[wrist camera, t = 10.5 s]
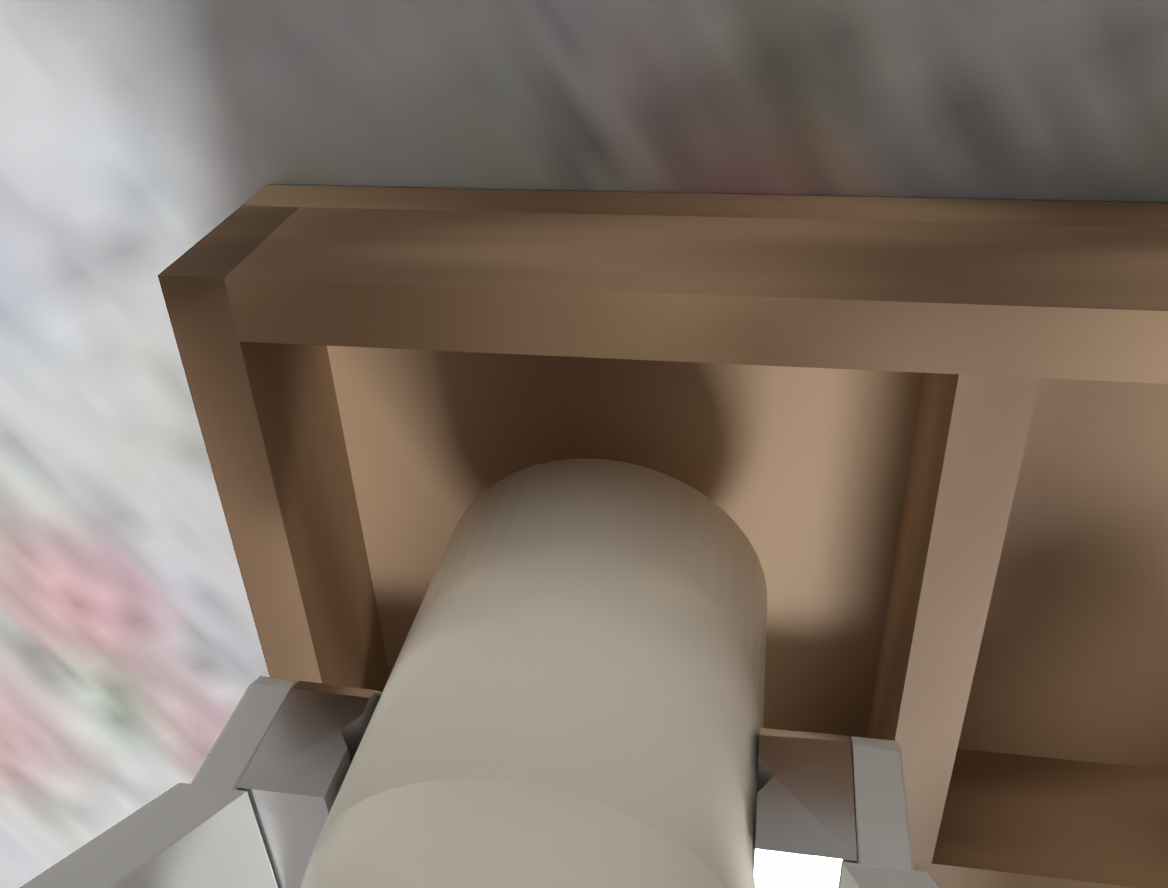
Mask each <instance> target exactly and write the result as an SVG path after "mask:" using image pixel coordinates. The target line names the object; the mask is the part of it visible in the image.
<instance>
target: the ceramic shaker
mask: <svg viewBox="0 0 1168 888" xmlns="http://www.w3.org/2000/svg"><path fill="white" fill-rule="evenodd" d="M766 630H767V587H766V582H765V576H764V572H763V569H762V566H761V564H760V561H759V558H758V556H757V554H756V552H755V550H754V548H753V547H752V545H751V543H750V541H749V539H748V538H747V537H746V535H745V534H744V533H743V531H742V530H741V529H740V527H739V526H738V525H737V523H736V522H735V521H734V520H733V519H732V518H731V517H730V516H729V515H728V514H727V513H726V512H725V511H724V510H723V509H722V508H720V507H719V506H718V505H717V504H715V503H714V502H713V501H712V500H710V499H709V498H708V497H707V496H705V495H704V494H702V493H700V492H699V491H697V490H696V489H694V488H692V487H691V486H689V485H687V484H686V483H684V482H681V481H679V480H677V479H675V478H673V477H671V476H669V475H667V474H664V473H661V472H658V471H655V470H652V469H649V468H647V467H644V466H639V465H635V464H630V463H626V462H622V461H614V460H605V459H567V460H558V461H551V462H547V463H542V464H538V465H534V466H531V467H528V468H525V469H523V470H520V471H517V472H514V473H512V474H510V475H509V476H507V477H505V478H503V479H501V480H499V481H497V482H496V483H494V484H493V485H492V486H490V487H489V488H488V489H486V490H485V491H483V492H482V493H481V494H480V495H479V496H478V497H477V498H476V499H475V500H474V501H473V502H472V503H471V504H470V505H469V506H468V508H467V509H466V510H465V512H464V513H463V515H462V516H461V517H460V519H459V521H458V523H457V525H456V527H455V529H454V531H453V533H452V536H451V538H450V540H449V542H448V545H447V547H446V549H445V551H444V554H443V556H442V558H441V561H440V563H439V565H438V567H437V570H436V572H435V574H434V576H433V579H432V581H431V583H430V585H429V588H428V590H427V592H426V595H425V597H424V599H423V601H422V604H421V606H420V608H419V610H418V613H417V615H416V617H415V620H414V622H413V624H412V626H411V629H410V631H409V633H408V635H407V638H406V640H405V642H404V645H403V647H402V649H401V651H400V654H399V656H398V658H397V660H396V663H395V665H394V667H393V669H392V672H391V674H390V676H389V679H388V681H387V683H386V685H385V688H384V690H383V692H382V694H381V697H380V699H379V701H378V704H377V706H376V708H375V710H374V713H373V715H372V717H371V719H370V722H369V724H368V726H367V729H366V731H365V733H364V735H363V738H362V740H361V742H360V744H359V747H358V749H357V751H356V753H355V756H354V758H353V760H352V763H351V765H350V767H349V769H348V772H347V774H346V776H345V778H344V781H343V783H342V785H341V788H340V790H339V792H338V794H337V797H336V799H335V801H334V803H333V806H332V808H331V810H330V813H329V815H328V817H327V819H326V822H325V824H324V826H323V828H322V831H321V833H320V835H319V837H318V840H317V842H316V844H315V847H314V849H313V851H312V854H311V856H310V859H309V862H308V865H307V868H306V870H305V873H304V876H303V879H302V883H301V887H300V888H756V884H755V880H754V875H753V869H754V839H755V815H756V803H757V793H758V786H757V764H758V744H759V730H760V728H763V711H764V684H765V657H766Z"/></svg>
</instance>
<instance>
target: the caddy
mask: <svg viewBox="0 0 1168 888" xmlns="http://www.w3.org/2000/svg"><path fill="white" fill-rule="evenodd" d="M158 278H159V281H160V285H161V288H162V292H163V296H164V299H165V303H166V306H167V310H168V313H169V317H170V321H171V324H172V328H173V331H174V335H175V339H176V342H177V346H178V349H179V353H180V356H181V360H182V364H183V367H184V371H185V374H186V378H187V382H188V385H189V389H190V392H191V396H192V399H193V403H194V407H195V410H196V414H197V417H198V421H199V425H200V428H201V432H202V435H203V439H204V442H205V446H206V450H207V453H208V457H209V460H210V464H211V468H212V471H213V475H214V478H215V482H216V485H217V489H218V493H219V496H220V500H221V503H222V507H223V511H224V514H225V518H226V521H227V525H228V528H229V532H230V536H231V539H232V543H233V546H234V550H235V554H236V557H237V561H238V564H239V568H240V571H241V575H242V579H243V582H244V586H245V589H246V593H247V597H248V600H249V604H250V607H251V611H252V614H253V618H254V622H255V625H256V629H257V632H258V636H259V640H260V643H261V647H262V650H263V654H264V657H265V661H266V665H267V668H268V672H269V675H270V678H278V679H287V680H295V681H307V682H315V683H323V684H330V685H338V686H346V687H354V688H362V689H370V690H377V691H380V692H383V690H384V688H385V685H386V683H387V681H388V679H389V676H390V674H391V672H392V669H393V667H394V665H395V663H396V660H397V658H398V656H399V654H400V651H401V649H402V647H403V645H404V642H405V640H406V638H407V635H408V633H409V631H410V629H411V626H412V624H413V622H414V620H415V617H416V615H417V613H418V610H419V608H420V606H421V604H422V601H423V599H424V597H425V595H426V592H427V590H428V588H429V585H430V583H431V581H432V579H433V576H434V574H435V572H436V570H437V567H438V565H439V563H440V561H441V558H442V556H443V554H444V551H445V549H446V547H447V545H448V542H449V540H450V538H451V536H452V533H453V531H454V529H455V527H456V525H457V523H458V521H459V519H460V517H461V516H462V515H463V513H464V512H465V510H466V509H467V508H468V506H469V505H470V504H471V503H472V502H473V501H474V500H475V499H476V498H477V497H478V496H479V495H480V494H481V493H482V492H483V491H485V490H486V489H488V488H489V487H490V486H492V485H493V484H494V483H496V482H497V481H499V480H501V479H503V478H505V477H507V476H509V475H510V474H512V473H514V472H517V471H520V470H523V469H525V468H528V467H531V466H534V465H538V464H542V463H547V462H551V461H558V460H567V459H605V460H614V461H622V462H626V463H630V464H635V465H639V466H644V467H647V468H649V469H652V470H655V471H658V472H661V473H664V474H667V475H669V476H671V477H673V478H675V479H677V480H679V481H681V482H684V483H686V484H687V485H689V486H691V487H692V488H694V489H696V490H697V491H699V492H700V493H702V494H704V495H705V496H707V497H708V498H709V499H710V500H712V501H713V502H714V503H715V504H717V505H718V506H719V507H720V508H722V509H723V510H724V511H725V512H726V513H727V514H728V515H729V516H730V517H731V518H732V519H733V520H734V521H735V522H736V523H737V525H738V526H739V527H740V529H741V530H742V531H743V533H744V534H745V535H746V537H747V538H748V539H749V541H750V543H751V545H752V547H753V548H754V550H755V552H756V554H757V556H758V558H759V561H760V564H761V566H762V569H763V572H764V576H765V582H766V587H767V630H766V657H765V684H764V711H763V728H768V729H779V730H790V731H802V732H813V733H824V734H836V735H847V736H849V738H850V737H851V736H852V737H863V738H873V739H884V740H894V741H897V742H898V744H899V746H900V748H901V752H902V762H903V772H904V781H905V791H906V800H907V810H908V819H909V829H910V838H911V848H912V857H913V867H914V870H917V871H923V872H928V873H929V874H930V875H931V876H932V878H933V879H934V880H935V881H936V883H937V884H938V885H939V887H940V888H1168V203H1151V202H1101V201H1051V200H1002V199H952V198H903V197H853V196H803V195H754V194H704V193H655V192H605V191H556V190H506V189H456V188H407V187H357V186H308V185H266V186H265V187H264V188H263V189H261V190H260V191H259V192H258V193H257V194H255V195H254V196H253V197H252V198H251V199H249V200H248V201H247V202H246V203H245V204H243V205H242V206H241V207H240V208H239V209H237V210H236V211H235V212H234V213H233V214H231V215H230V216H229V217H228V218H227V219H225V220H224V221H223V222H222V223H221V224H219V225H218V226H217V227H216V228H214V229H213V230H212V231H211V232H210V233H208V234H207V235H206V236H205V237H204V238H202V239H201V240H200V241H199V242H198V243H196V244H195V245H194V246H193V247H192V248H190V249H189V250H188V251H187V252H186V253H184V254H183V255H182V256H181V257H180V258H178V259H177V260H176V261H175V262H174V263H172V264H171V265H170V266H169V267H168V268H166V269H165V270H164V271H163V272H162V273H160V274H159V275H158Z"/></svg>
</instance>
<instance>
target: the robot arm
mask: <svg viewBox="0 0 1168 888" xmlns="http://www.w3.org/2000/svg"><path fill="white" fill-rule="evenodd" d="M381 694H382V692H380V691H377V690H370V689H362V688H354V687H346V686H338V685H330V684H323V683H315V682H307V681H295V680H287V679H278V678H270V677H262V676H260V677H259V678H258V679H257V680H255V681H254V682H253V683H252V684H251V685H249V687H248V688H247V690H246V692H245V693H244V695H243V697H242V698H241V700H240V702H239V703H238V705H237V707H236V708H235V710H234V712H233V714H232V715H231V717H230V719H229V720H228V722H227V724H226V725H225V727H224V729H223V730H222V732H221V734H220V736H219V737H218V739H217V741H216V742H215V744H214V746H213V747H212V749H211V751H210V752H209V754H208V756H207V758H206V759H205V761H204V763H203V764H202V766H201V768H200V769H199V771H198V773H197V774H196V776H195V778H194V780H193V781H192V783H191V784H186V783H178V784H177V785H175V786H174V787H172V788H171V789H169V790H168V791H166V792H165V793H163V794H162V795H160V796H159V797H157V798H155V799H154V800H152V801H151V802H149V803H148V804H146V805H145V806H143V807H142V808H140V809H139V810H137V811H136V812H134V813H133V814H131V815H130V816H128V817H127V818H125V819H124V820H122V821H120V822H119V823H117V824H116V825H114V826H113V827H111V828H110V829H108V830H107V831H105V832H104V833H102V834H101V835H99V836H98V837H96V838H95V839H93V840H92V841H90V842H89V843H87V844H86V845H84V846H82V847H81V848H79V849H78V850H76V851H75V852H73V853H72V854H70V855H69V856H67V857H66V858H64V859H63V860H61V861H60V862H58V863H57V864H55V865H54V866H52V867H51V868H49V869H47V870H46V871H44V872H43V873H41V874H40V875H38V876H37V877H35V878H34V879H32V880H31V881H29V882H28V883H26V884H25V885H23V886H22V887H20V888H300V887H301V883H302V879H303V876H304V873H305V870H306V868H307V865H308V862H309V859H310V856H311V854H312V851H313V849H314V847H315V844H316V842H317V840H318V837H319V835H320V833H321V831H322V828H323V826H324V824H325V822H326V819H327V817H328V815H329V813H330V810H331V808H332V806H333V803H334V801H335V799H336V797H337V794H338V792H339V790H340V788H341V785H342V783H343V781H344V778H345V776H346V774H347V772H348V769H349V767H350V765H351V763H352V760H353V758H354V756H355V753H356V751H357V749H358V747H359V744H360V742H361V740H362V738H363V735H364V733H365V731H366V729H367V726H368V724H369V722H370V719H371V717H372V715H373V713H374V710H375V708H376V706H377V704H378V701H379V699H380V697H381ZM757 786H758V793H757V803H756V815H755V839H754V869H753V875H754V880H755V884H756V888H940V887H939V885H938V884H937V883H936V881H935V880H934V879H933V878H932V876H931V875H930V874H929V873H928V872H923V871H917V870H914V867H913V857H912V848H911V838H910V829H909V819H908V810H907V800H906V791H905V781H904V772H903V762H902V752H901V748H900V746H899V744H898V742H897V741H894V740H884V739H873V738H863V737H852V736H851V737H850V738H849V736H847V735H836V734H824V733H813V732H802V731H790V730H779V729H768V728H760V730H759V744H758V764H757Z"/></svg>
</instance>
